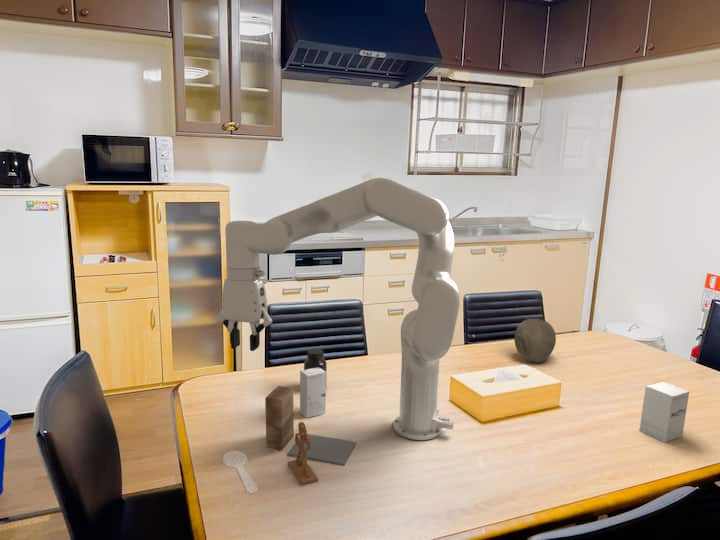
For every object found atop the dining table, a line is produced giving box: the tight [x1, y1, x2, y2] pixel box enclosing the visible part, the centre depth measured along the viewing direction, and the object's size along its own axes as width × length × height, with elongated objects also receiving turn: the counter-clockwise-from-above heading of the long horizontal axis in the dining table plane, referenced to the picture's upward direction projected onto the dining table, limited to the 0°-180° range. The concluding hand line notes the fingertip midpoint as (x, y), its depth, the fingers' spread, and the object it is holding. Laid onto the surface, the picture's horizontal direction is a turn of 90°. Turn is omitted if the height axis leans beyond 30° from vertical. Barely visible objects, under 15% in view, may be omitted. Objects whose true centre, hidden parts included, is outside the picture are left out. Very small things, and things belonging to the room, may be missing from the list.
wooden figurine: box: [287, 421, 319, 487], centre depth 114 cm, size 9×4×12 cm, turn 27°
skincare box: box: [299, 367, 327, 419], centre depth 143 cm, size 6×4×12 cm
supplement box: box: [639, 381, 690, 443], centre depth 135 cm, size 7×7×13 cm
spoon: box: [222, 450, 259, 494], centre depth 116 cm, size 5×18×1 cm, turn 29°
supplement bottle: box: [303, 348, 328, 373], centre depth 158 cm, size 7×7×12 cm
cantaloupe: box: [514, 318, 557, 363], centre depth 185 cm, size 14×14×15 cm
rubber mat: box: [286, 433, 357, 466], centre depth 125 cm, size 14×10×1 cm
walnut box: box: [264, 385, 295, 451], centre depth 127 cm, size 4×7×13 cm, turn 164°
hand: (245, 347), depth 126 cm, fingers open, 4 cm apart
